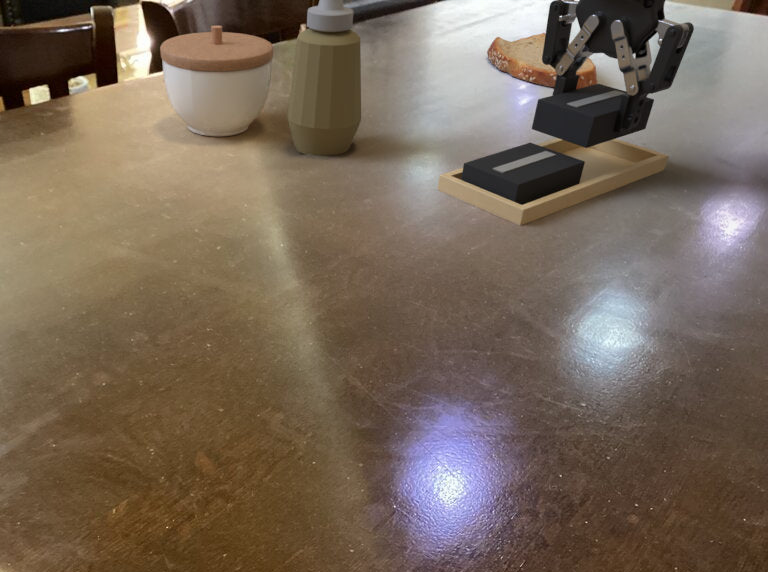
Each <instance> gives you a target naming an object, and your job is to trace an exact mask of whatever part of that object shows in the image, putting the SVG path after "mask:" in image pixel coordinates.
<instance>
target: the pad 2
mask: <svg viewBox="0 0 768 572" xmlns="http://www.w3.org/2000/svg"><path fill="white" fill-rule="evenodd" d="M623 94H627V92H626V90H622V89H618V88H616V87H612V86H608V85H605V84H601V83H597V84H595V85H591V86H587V87H584V88H580V89H576V90H572V91H568V92H564V93H561V94H557V95H553V94H552V95H553V96H552V95H549V96H546V97H542V98H538V100H537V103H536V108H535V113H534V115H533V116H534V117H533V121H532V125H531V130H532V131H536V132H539V133H541V134H545V135H548V136H550V137H553V138H559V139H562V140H565V141H567V142H570V143H573V144H576V145H579V146H582V147H585V148H588V147H591V146H594V145H597V144H600V143H603V142H607V141H610V140H613V139H618V138H622V137H625V136H628V135H631V134H634V133H637V132H640V131H644V130H646V128H647V125H648V122H649V119H650V115H651V112H652V108H653V105H654V103H655V99H654V98H651V97H648V96H647V97H646V101H645V104H644V107H643V111H642V114H641V116H640V121H639V123H638V124H637V126H636V127H634V128H632V129H631V130H630V131H629V132H626V133H623V134H619V133H616V132H614V127H615V123H616V120H617V116H618V113H619V108H620V104H621V101H622V97H623Z"/></svg>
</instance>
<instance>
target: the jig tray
mask: <svg viewBox="0 0 768 572" xmlns="http://www.w3.org/2000/svg"><path fill="white" fill-rule="evenodd" d="M535 144H536V143H535ZM536 145H539V146H542V147H545V148H547V149H550V150H553V151H556V152H559V153H562V154H565V155H568V156H570V157H573V158H576V159H579V160H582V161H585V164H584V168H583V171H582V175H581V179H580V183H579V184H578V185H575V186H572V187H569V188H567V189H564V190H561V191H559V192H556V193H553V194H551V195H548V196H545V197H542V198H540V199H537V200H534V201H532V202H529V203H526V204H523V205H521V204H518V203H516V202H513V201H511V200H509V199H506V198H504V197H501V196H499V195H496V194H494V193H492V192H489V191H487V190H484V189H482V188H479V187H477V186H475V185H472V184H470V183H467V182H465V181H462V180H461V178H462V172H463V167H460V168H457V169H454V170H451V171H448V172H445V173H442V174H439V179H438V185H437V191H438V192H441V193H444V194H446V195H448V196H451V197H452V198H455V199H457V200H460V201H462V202H465V204H466V203H467V204H469V205H470V206H471V205H472V206H473V207H476V208H477V209H481V210H483V211H485V212H488V213H489V214H491V215H494V216H497V217H499V218H501V219H503V220H506V221H508V222H511V223H512V224H515V225H517V226H523V225H526V224H529V223H532V222H534V221H536V220H539V219H541V218H544V217H546V216H549V215H552V214H554V213H557V212H560V211H562V210H564V209H567V208H570V207H573V206H575V205H578V204H581V203H583V202H586V201H588V200H590V199H593V198H596V197H598V196H601V195H603V194H606V193H608V192H611V191H614V190H616V189H619V188H621V187H624V186H626V185H630V184H631V183H632V184H633V183H634V182H637V181H640V180H642V179H645V178H647V177H651V176H653V175H654V174H658V173H660V172H662V171H664V170H665V169H666V166H667V162H668V159H669V156H670V155H669V154H665V153H662V152H659V151H656V150H653V149H649V148H647V147H644V146H640V145H637V144H635V143H634V144H633V143H631V142H629V141H628V142H627V141H624V140H621V139H618V138H616V139H613V140H610V141H607V142H603V143H600V144H597V145H594V146H591V147H588V148H585V147H582V146H579V145H576V144H573V143H570V142H567V141H565V140H562V139H559V138H556V137H554V138H552V139H550V140H546V141H542V142H540V143H537V144H536Z"/></svg>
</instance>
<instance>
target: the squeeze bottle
mask: <svg viewBox="0 0 768 572" xmlns="http://www.w3.org/2000/svg"><path fill="white" fill-rule="evenodd" d="M353 22H354V9H352V8H350V7H348V6H344V0H319V1H318V4H317V5H314V6H311V7H308V8H307V12H306V26H307V28H306V29H304V30H303V31H301V32H300V33H299V34H298V35H297V38H296V45H295V53H294V61H293V69H292V75H291V82H290V83H291V84H290V92H289V98H288V104H287V105H288V107H287V113H286V114H287V115H286V118H287V122H288V125H289V126H288V127H289V129H290V133H291V137H292V140H293V144H294V148H295V149H296V150H297V151H298V152H299V153H301V154H303V155H313V156H324V157H326V156H338V155H340V154H344V153H347V151H349V150H350V148H351V145H352V143H353V141H354V138H355V135H356V133H357V132H358V129H359V126H360V124H361V123H362V69H361V68H362V67H361V66H362V64H361V63H362V62H361V60H362V59H361V56H362V55H361V54H362V53H361V37H360V36H359V34H357V32H356V31H354V30H352V28H353V25H354V23H353Z"/></svg>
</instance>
